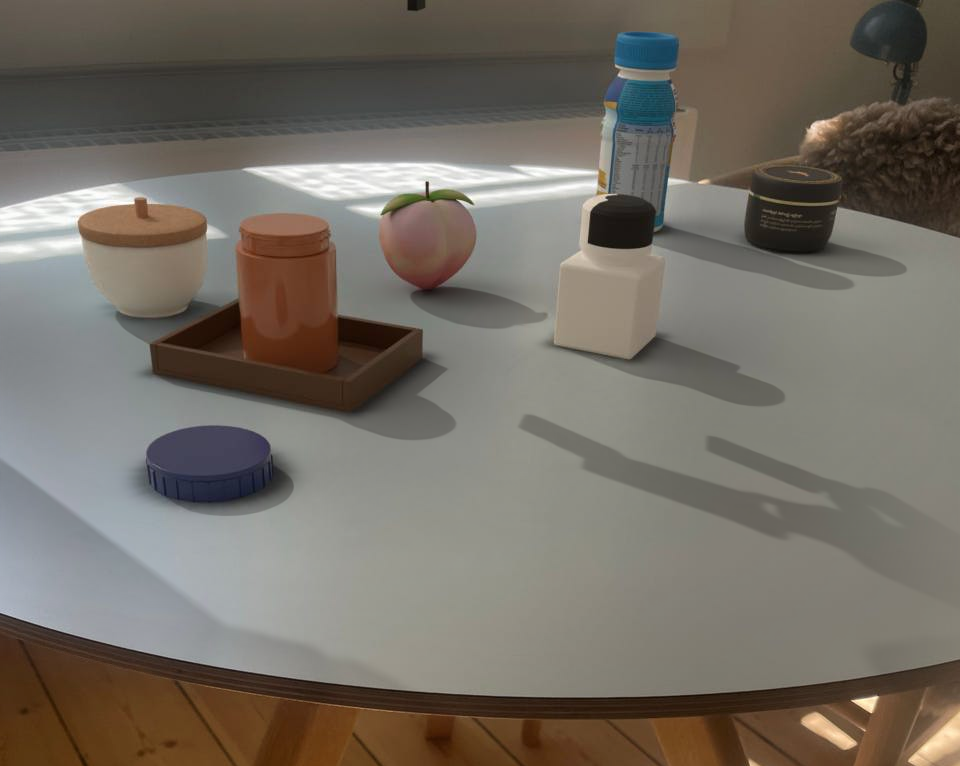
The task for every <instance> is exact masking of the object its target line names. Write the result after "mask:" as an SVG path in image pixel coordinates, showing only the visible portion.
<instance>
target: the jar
mask: <svg viewBox="0 0 960 766" xmlns="http://www.w3.org/2000/svg"><path fill="white" fill-rule="evenodd" d="M842 188H843V178H842V177H841V176H840V175H839V174H838V173H835V172H833V171H831V170H827V169H822V168H817V167H812V166H805V165H795V164H767V165H762V166H758V167H756V168H755V169H754V170H753V171H752V173H751V177H750V180H749V187H748V190H747V191H748V192H747V193H748V196H747V203H746V208H745V215H744V221H743V227H744V229H743V230H744V238H745V239H746V241H747V243H748V244H749V245H751V246H753V247H754V248H758V249H760V250H764V251H768V252H773V253H779V254H791V255H807V254H809V255H810V254H815V253H818V252H821V251H822V250H823V249H824V248H825V247H826V246H827V245H828V243H829V241H830V238H831V237H832V233H833V232H834V231H833V230H834V225H835V221H836V215H837V211H838V205H839V202H841V193H842Z"/></svg>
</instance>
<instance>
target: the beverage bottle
mask: <svg viewBox="0 0 960 766" xmlns="http://www.w3.org/2000/svg"><path fill="white" fill-rule="evenodd" d="M679 41H680V38H679V37H678V36H677V35H674V34H669V33H663V32H656V31H655V32H654V31H623V32H619V33H618V34H617V37H616V41H615V52H614V67H615V68H616V69H618V70H619V72H618V74H617V75H616V76H615V77H614V78H613V80H612V82H611V84H610V85H609V87H608V89H607V91H606V94H605V97H604V99H603V106H604V108H605V115H604V117H603V118H602V120H601V122H600V127H599V136H600V138H601V139H600V149H599V162H598V173H597V183H596V184H597V185H596V186H597V187H596V195H595V196H598V195H603V194H624V195H631V196H636V197H640V198H642V199H644V200H646V201H648V202H649V203H651V204H652V205H653V206H654V208H655V209H656V217H655V225H654V233H657V232H658V231H660V230H661V229H662V228H663V226H664V222H665V221H664V220H665V207H666V200H667V199H666V198H667V191H668V185H669V177H670V170H671V161H672V153H673V147H674V142H675V139H676V136H677V125H676V123H675V115H676V113H677V112H678V111H679V99H678V94H677V91H676V87H675V84H674V83H673V80H672V79H671V76H670V73H672V72H674V71H676V68H677V66H678V65H677V64H678V57H679V48H680V42H679Z"/></svg>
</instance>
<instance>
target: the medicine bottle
mask: <svg viewBox="0 0 960 766" xmlns="http://www.w3.org/2000/svg"><path fill="white" fill-rule="evenodd" d="M655 217H656V209H655V208H654V206H653V205H652V204H651V203H649V202H648V201H646V200H644V199H642V198H640V197H636V196H631V195H624V194H603V195H598V196H596V195H595V196H593V197H591V198H588V199H587V200H586V201H585V202H584V203H583V204H582V210H581V220H580V231H579V232H580V233H579V242H578V248H579V249H580V250H579V251H578V252H576V253H574V254H573V255H572V256H570V257H568V258H567V259H565V260H564V261H562V262H561V263H560V265H559V273H558V286H557V297H556V299H557V300H556V310H555V311H556V312H555V324H554V334H553V335H554V336H553V343H554V345H555V346H557V347H561V348H562V347H563V348H567V349H572V350H577V351H582V352H586V353H592V354H597V355H601V356H602V355H603V356H608V357H612V358H618V359H623V360H632V359H633V358H634V357H635V356H636V355H637V354H638V353H639V352H640V351H642V350H643V348H644V347H646V346H647V345H648V344H649V343H650V342H651V341H652V340H653V339H654V338H655V337H656V335H657V328H658V320H659V312H660V307H661V306H660V305H661V297H662V292H663V291H662V289H663V283H664V275H665V268H666V258H665V257H664V256H663V255H658V254H653V253H652V247H653V239H654V233H655V232H654V225H655Z"/></svg>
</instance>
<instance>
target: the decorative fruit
mask: <svg viewBox="0 0 960 766" xmlns="http://www.w3.org/2000/svg"><path fill="white" fill-rule="evenodd" d="M424 187H425V192H415V193H402V194H398V195H396V196H395V197H393V198H391V199H390V200H389V201H388V202H387V203H386V204H385V206H384V207H383V209H382V210H381V212H380V216H381V218H380V221H379V226H378V238H379V243H380V248H381V251H382V253H383V256H384V258H385V260H386V263H387V264H388V266H389V268H390V269H391V271H393V273H394V274H395V275H396V276H397V277H398V278H400V279H402V281H404V282H407V283H408V284H410V285H413V286H414V287H417V288H419V289H421V290H423V291H429V290H432V289H435V288H437V287H439V286H440V285H442V284H444V283H446V282H447V281H449V280H450V279H451V278H453V277H454V276H455V275H457V273H458V272H459V271H460V270H461V269H462V268H463V267H464V266H465V264H467V262H468V261H469V259H470V258H471V256H472V255H473V252H474V249H475V247H476V243H477V228H476V224H475V220H474V218H473V216H472V215H471V213H470V211H469V210H468V208H467V207H465V205H464V204H463V203H462V202H465V203H468V204H470V205H471V206H475V203H474V201H473V200H471V198H469V197H468V196H467V195H466V194H464V193H463V192H460V191H458V190H454V189H447V188H444V189H442V188H441V189H436V190H433V191H431V192H430V182H429V181H428V180H426V181H425V186H424ZM461 201H462V202H461Z"/></svg>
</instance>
